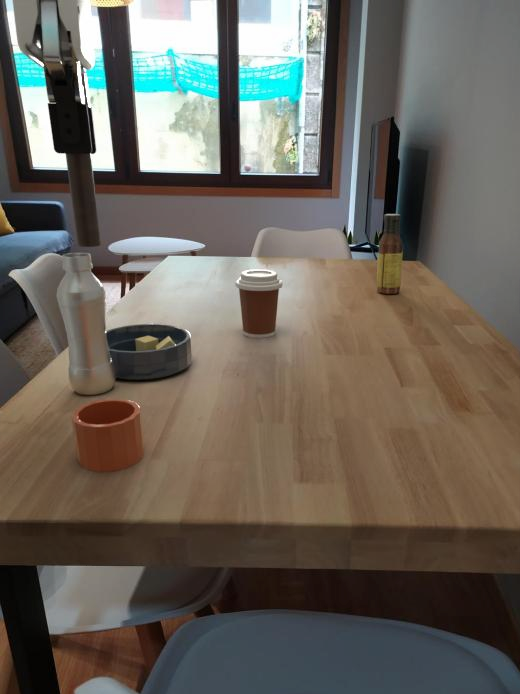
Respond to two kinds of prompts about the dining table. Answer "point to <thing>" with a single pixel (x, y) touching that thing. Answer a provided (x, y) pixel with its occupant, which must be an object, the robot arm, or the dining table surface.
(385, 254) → the sauce bottle
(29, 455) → the dining table surface
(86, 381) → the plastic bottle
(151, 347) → the chunk
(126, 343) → the bowl
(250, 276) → the coffee cup
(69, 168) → the stick
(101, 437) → the holder
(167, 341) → the chunk
